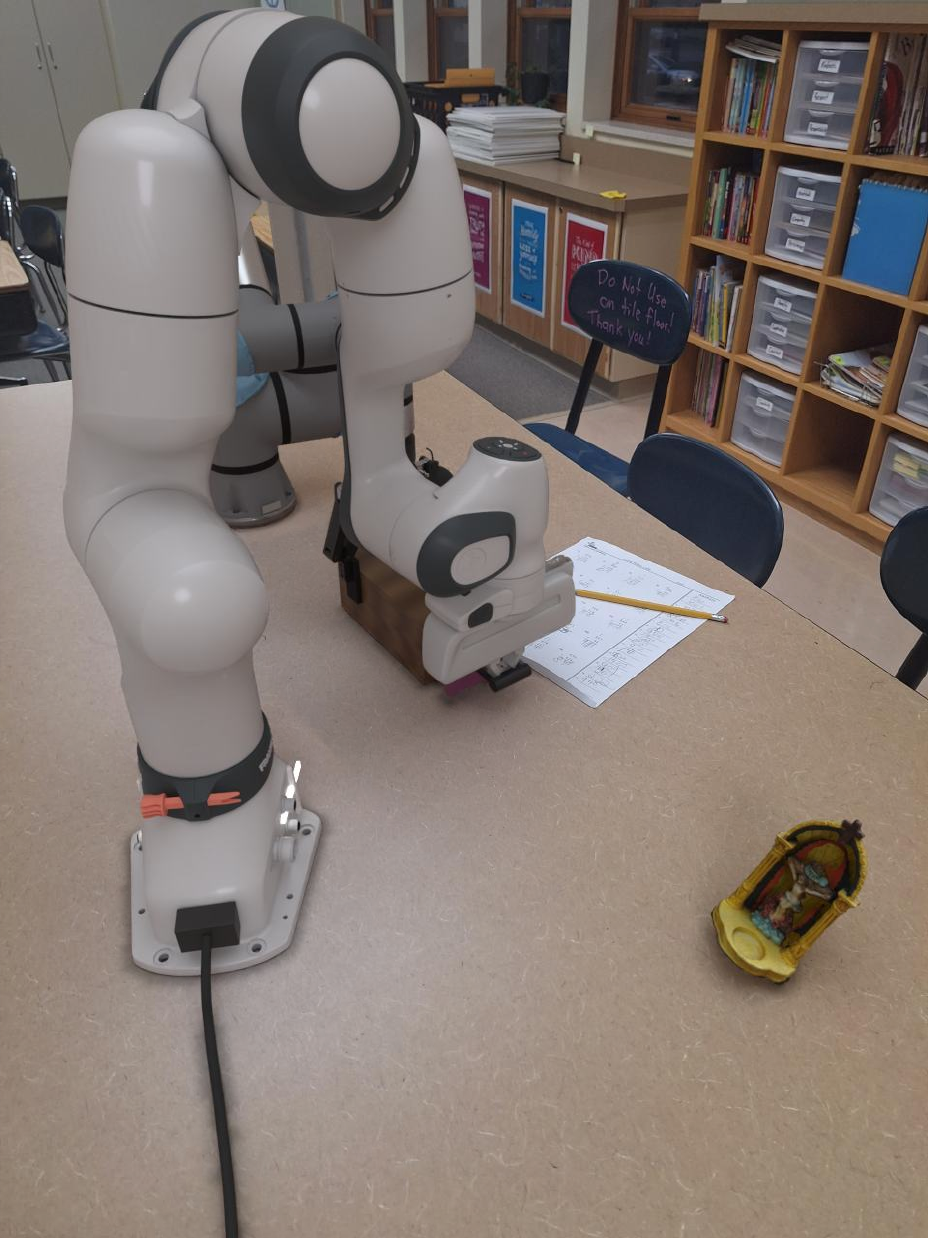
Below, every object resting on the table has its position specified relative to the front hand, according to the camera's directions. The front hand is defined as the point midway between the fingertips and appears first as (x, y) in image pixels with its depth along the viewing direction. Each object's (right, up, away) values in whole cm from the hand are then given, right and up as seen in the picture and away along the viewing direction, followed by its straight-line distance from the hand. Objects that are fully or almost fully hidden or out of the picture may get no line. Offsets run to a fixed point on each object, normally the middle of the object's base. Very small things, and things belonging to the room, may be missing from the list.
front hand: (501, 678), depth 102 cm
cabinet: (-11, +6, +14) cm, 19 cm away
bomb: (-9, +25, +41) cm, 49 cm away
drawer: (-6, +3, +8) cm, 10 cm away
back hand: (-14, +12, +15) cm, 24 cm away
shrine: (+23, -22, -25) cm, 41 cm away
